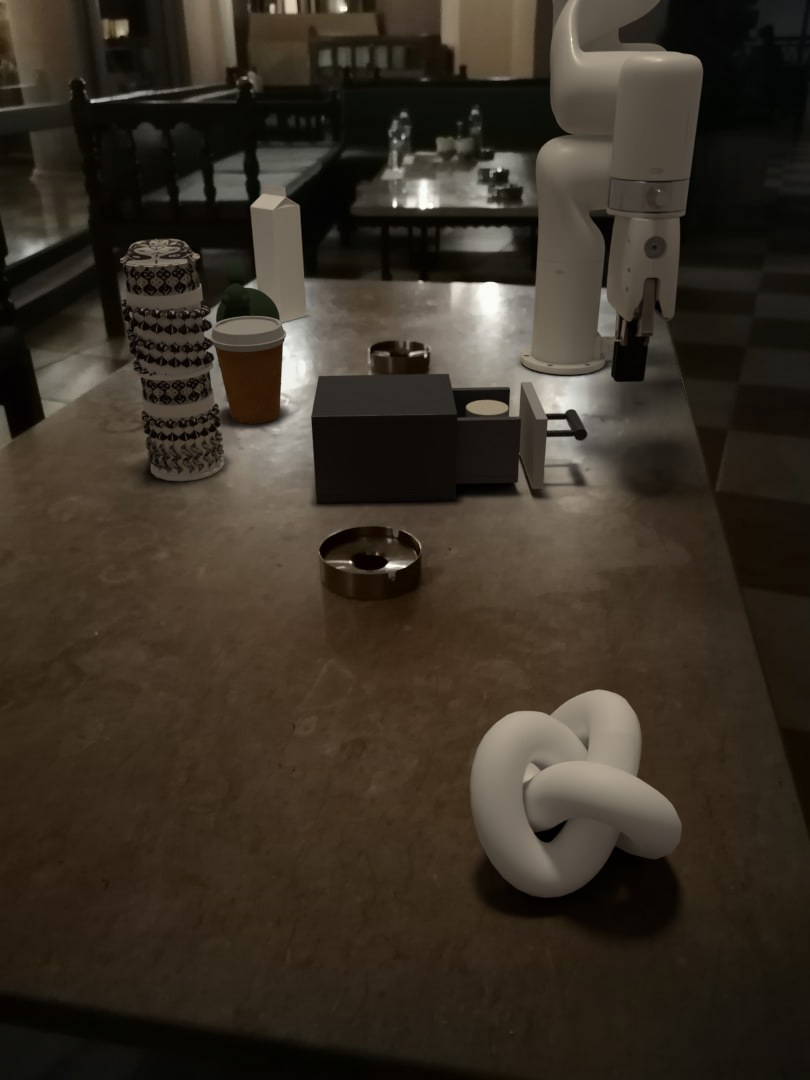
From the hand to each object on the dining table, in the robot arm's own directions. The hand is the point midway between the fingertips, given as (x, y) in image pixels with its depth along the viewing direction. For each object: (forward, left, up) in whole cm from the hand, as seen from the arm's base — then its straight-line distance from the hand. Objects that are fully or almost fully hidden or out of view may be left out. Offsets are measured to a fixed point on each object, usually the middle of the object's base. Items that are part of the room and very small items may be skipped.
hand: (627, 379), depth 97 cm
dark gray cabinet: (+26, 0, -11) cm, 28 cm away
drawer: (+14, 0, -10) cm, 17 cm away
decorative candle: (+49, -4, -11) cm, 50 cm away
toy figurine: (+46, -38, -11) cm, 61 cm away
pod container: (+15, 0, -9) cm, 17 cm away
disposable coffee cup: (+43, -20, -11) cm, 49 cm away
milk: (+44, -69, -11) cm, 83 cm away
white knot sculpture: (+16, +54, -11) cm, 57 cm away
